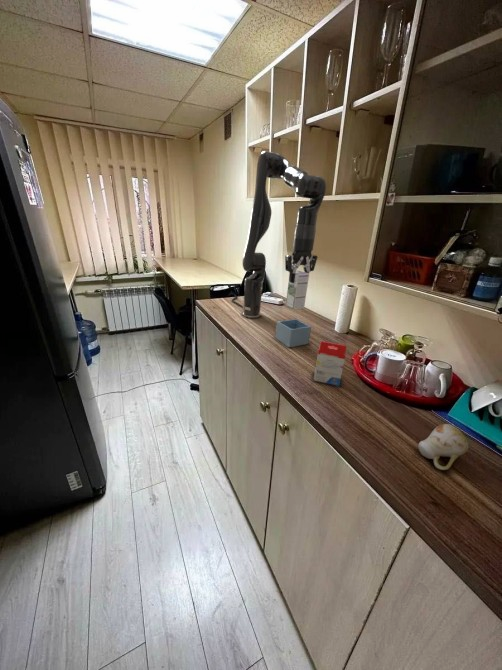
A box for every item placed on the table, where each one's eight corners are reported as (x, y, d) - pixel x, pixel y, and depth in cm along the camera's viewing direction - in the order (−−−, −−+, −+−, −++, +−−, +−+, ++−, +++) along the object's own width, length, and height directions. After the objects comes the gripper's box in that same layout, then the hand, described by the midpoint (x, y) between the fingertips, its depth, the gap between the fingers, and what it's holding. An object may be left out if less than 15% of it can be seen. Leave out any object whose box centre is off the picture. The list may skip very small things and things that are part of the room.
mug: (405, 447, 66) (425, 411, 66) (432, 459, 69) (451, 425, 69) (431, 466, 59) (453, 426, 59) (461, 479, 62) (482, 441, 61)
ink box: (339, 379, 94) (348, 340, 88) (339, 386, 89) (348, 346, 84) (314, 373, 96) (321, 335, 90) (312, 380, 92) (319, 341, 86)
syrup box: (304, 308, 111) (310, 273, 105) (293, 310, 108) (298, 273, 103) (296, 304, 116) (301, 270, 110) (284, 305, 113) (289, 270, 107)
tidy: (275, 337, 123) (277, 321, 120) (294, 334, 128) (296, 318, 125) (288, 347, 114) (291, 330, 111) (308, 343, 119) (311, 326, 116)
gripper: (312, 236, 107) (306, 279, 114) (282, 235, 101) (277, 280, 108) (325, 238, 101) (318, 283, 108) (294, 237, 95) (288, 285, 102)
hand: (298, 281), depth 108 cm, fingers closed on syrup box, 5 cm apart
